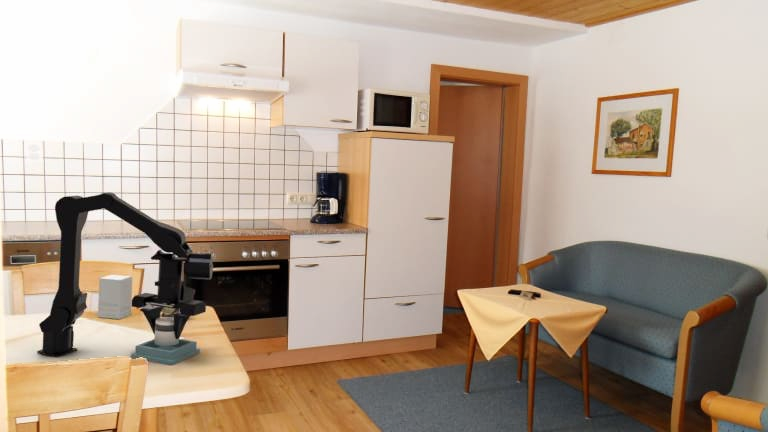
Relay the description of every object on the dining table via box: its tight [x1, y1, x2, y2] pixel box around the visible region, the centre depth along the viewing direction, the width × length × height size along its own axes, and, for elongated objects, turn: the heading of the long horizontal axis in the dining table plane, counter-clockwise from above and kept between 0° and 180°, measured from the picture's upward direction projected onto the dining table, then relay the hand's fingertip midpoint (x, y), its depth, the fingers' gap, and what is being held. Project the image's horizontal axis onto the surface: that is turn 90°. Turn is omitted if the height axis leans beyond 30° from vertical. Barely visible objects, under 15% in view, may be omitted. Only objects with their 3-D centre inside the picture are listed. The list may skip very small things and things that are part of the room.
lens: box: [154, 316, 180, 346], centre depth 150 cm, size 6×6×6 cm
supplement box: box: [97, 274, 133, 320], centre depth 185 cm, size 7×7×13 cm
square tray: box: [130, 338, 201, 366], centre depth 151 cm, size 12×12×3 cm
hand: (166, 336), depth 150 cm, fingers closed on lens, 6 cm apart
